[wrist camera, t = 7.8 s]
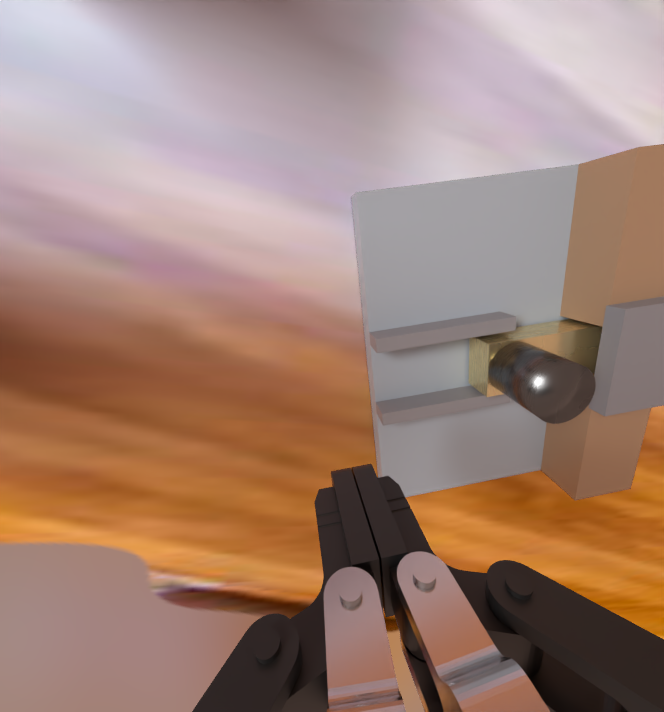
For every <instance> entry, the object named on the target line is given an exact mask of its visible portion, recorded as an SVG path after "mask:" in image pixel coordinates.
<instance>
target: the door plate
mask: <svg viewBox="0 0 664 712" xmlns="http://www.w3.org/2000/svg"><path fill="white" fill-rule="evenodd" d="M351 201H352V211H353V222H354V232H355V243H356V253H357V263H358V274H359V284H360V294H361V305H362V315H363V325H364V336H365V346H366V356H367V367H368V377H369V387H370V398H371V408H372V418H373V429H374V439H375V449H376V460H377V470H378V478H379V477H384V476H389V477H391V478H392V479H393V480H394V481H395V482H396V483H398V484H399V486H400V488H401V490H402V492H403V494H404V496H405V497H409V496H414V495H419V494H424V493H429V492H434V491H439V490H443V489H448V488H453V487H458V486H463V485H468V484H473V483H478V482H483V481H488V480H493V479H498V478H503V477H508V476H513V475H518V474H523V473H528V472H533V471H538V470H541V471H542V472H544V473H545V474H546V475H547V476H548V477H549V478H550V479H551V480H553V481H554V482H555V483H556V484H557V485H558V486H559V487H560V488H562V489H563V490H564V491H565V492H566V493H567V494H568V495H569V496H571V497H572V498H573V499H574V500H579V499H584V498H589V497H594V496H598V495H603V494H608V493H613V492H617V491H622V490H627V489H631V485H632V481H633V478H634V474H635V470H636V466H637V462H638V458H639V454H640V450H641V446H642V442H643V438H644V434H645V430H646V426H647V422H648V418H649V414H650V410H651V408H652V407H657V406H662V405H664V144H661V145H653V146H645V147H638V148H634V149H631V150H627V151H624V152H620V153H617V154H613V155H610V156H606V157H603V158H599V159H596V160H593V161H589V162H586V163H582V164H579V165H571V166H563V167H555V168H547V169H539V170H531V171H523V172H515V173H507V174H499V175H491V176H484V177H476V178H468V179H460V180H452V181H444V182H436V183H428V184H420V185H412V186H404V187H396V188H388V189H380V190H373V191H365V192H357V193H355V194H354V195H353V196H352V197H351ZM569 318H570V319H574V320H578V321H582V322H586V323H590V324H594V325H598V326H602V333H601V339H600V344H599V350H598V356H597V362H596V367H595V373H594V377H595V382H596V387H595V392H594V395H593V398H592V400H591V402H590V403H589V405H588V406H587V407H586V408H585V410H584V411H583V412H582V413H580V414H579V415H578V416H576V417H575V418H573V419H571V420H569V421H567V422H564V423H559V424H551V423H547V422H544V421H543V420H541V419H540V418H538V417H537V416H535V415H534V414H532V413H531V412H530V411H528V410H527V409H525V408H524V407H522V406H521V405H519V404H518V403H516V402H515V401H514V400H512V399H511V398H509V397H508V396H506V395H505V394H502V395H496V396H491V397H486V396H485V395H483V394H482V393H481V392H479V391H478V390H477V389H476V388H474V387H473V386H472V385H470V384H469V383H468V379H469V338H473V337H479V336H485V335H491V334H497V333H503V332H509V331H515V330H516V327H521V326H527V325H533V324H539V323H545V322H551V321H557V320H563V319H569Z"/></svg>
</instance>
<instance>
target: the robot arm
mask: <svg viewBox="0 0 664 712" xmlns="http://www.w3.org/2000/svg"><path fill="white" fill-rule="evenodd" d="M331 478H332V485H333V487H329V488H324V489H319V491H318V494H317V497H316V500H315V509H316V516H317V524H318V532H319V540H320V548H321V556H322V564H323V571H324V580H323V585H322V588H321V591H320V593H319V595H318V597H317V598H316V599H315V601H314V602H313V603H312V604H311V605H310V606H309V607H307V608H306V609H305V610H303V611H302V612H300V613H299V614H297V615H295V616H294V617H292V618H291V619H289V618H288V617H286V616H284V615H281V614H269V615H266V616H263V617H262V618H260V619H258V620H257V621H256V622H254V623H253V624H252V625H251V626H250V628H249V629H248V630H247V631H246V633H245V634H244V636H243V637H242V639H241V640H240V642H239V643H238V645H237V646H236V648H235V649H234V650H233V652H232V654H231V655H230V656H229V658H228V659H227V661H226V663H225V664H224V665H223V667H222V668H221V670H220V671H219V673H218V674H217V676H216V677H215V679H214V680H213V682H212V683H211V685H210V686H209V688H208V689H207V691H206V692H205V694H204V695H203V697H202V698H201V699H200V701H199V702H198V704H197V705H196V707H195V709H194V710H193V711H192V712H406V711H405V707H404V703H403V699H402V696H401V694H400V692H399V689H398V684H397V680H396V675H395V671H394V665H393V661H392V655H391V651H390V646H389V641H388V637H387V631H386V626H385V622H384V615H383V608H384V612H385V615H386V617H389V616H393V615H395V618H396V621H397V624H398V627H399V631H400V639H401V640H400V641H401V647H402V651H403V654H404V656H405V659H406V662H407V664H408V667H409V670H410V673H411V675H412V678H413V681H414V684H415V686H416V689H417V692H418V695H419V697H420V700H421V703H422V706H423V708H424V711H425V712H664V640H663V639H662V638H660V637H658V636H656V635H654V634H652V633H650V632H649V631H647V630H645V629H643V628H641V627H639V626H637V625H635V624H634V623H632V622H630V621H628V620H626V619H624V618H622V617H621V616H619V615H617V614H615V613H613V612H611V611H609V610H607V609H606V608H604V607H602V606H600V605H598V604H596V603H594V602H593V601H591V600H589V599H587V598H585V597H583V596H581V595H579V594H578V593H576V592H574V591H572V590H570V589H568V588H566V587H565V586H563V585H561V584H559V583H557V582H555V581H553V580H551V579H550V578H548V577H546V576H544V575H542V574H540V573H538V572H537V571H535V570H533V569H531V568H529V567H527V566H525V565H523V564H521V563H518V562H515V561H510V560H503V561H498V562H496V563H494V564H492V565H491V566H490V568H489V569H488V572H487V573H479V572H470V571H463V570H458V569H455V568H452V567H450V566H448V565H447V564H445V563H444V562H443V561H442V560H441V559H439V558H438V557H437V556H436V555H435V554H434V553H433V551H432V550H431V548H430V546H429V544H428V542H427V540H426V538H425V536H424V534H423V532H422V530H421V528H420V526H419V524H418V522H417V520H416V518H415V516H414V514H413V512H412V510H411V509H410V506H409V504H408V502H407V500H406V499H405V496H404V494H403V492H402V490H401V488H400V486H399V484H398V483H396V482H395V481H394V480H393V479H392V478H391V477H389V476H384V477H379V478H377V476H376V473H375V471H374V469H373V466H372V464H367V465H362V466H356V467H352V468H347V469H341V470H336V471H331Z"/></svg>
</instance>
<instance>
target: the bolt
mask: <svg viewBox="0 0 664 712" xmlns="http://www.w3.org/2000/svg"><path fill="white" fill-rule="evenodd" d="M601 333H602V326H598V325H594V324H590V323H586V322H582V321H578V320H574V319H570V318H569V319H563V320H557V321H551V322H545V323H539V324H533V325H527V326H521V327H516V330H515V331H509V332H503V333H497V334H491V335H485V336H479V337H473V338H469V379H468V383H469V384H470V385H472V386H473V387H474V388H476V389H477V390H478V391H479V392H481V393H482V394H483V395H485V396H486V397H491V396H496V395H502V394H505V395H506V396H508V397H509V398H511V399H512V400H514V401H515V402H516V403H518V404H519V405H521V406H522V407H524V408H525V409H527V410H528V411H530V412H531V413H532V414H534V415H535V416H537V417H538V418H540V419H541V420H543V421H544V422H547V423H551V424H559V423H564V422H567V421H569V420H571V419H573V418H575V417H576V416H578V415H579V414H580V413H582V412H583V411H584V410H585V408H586V407H587V406H588V405H589V403H590V402H591V400H592V398H593V395H594V392H595V387H596V382H595V377H594V373H595V367H596V362H597V356H598V350H599V344H600V339H601Z"/></svg>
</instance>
